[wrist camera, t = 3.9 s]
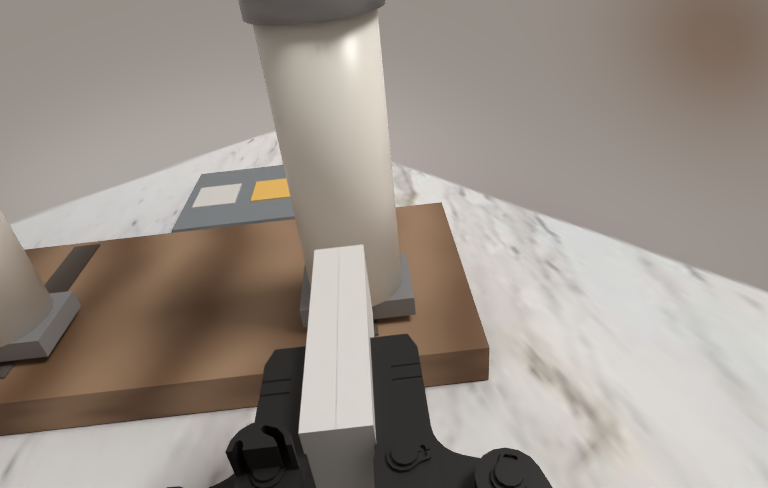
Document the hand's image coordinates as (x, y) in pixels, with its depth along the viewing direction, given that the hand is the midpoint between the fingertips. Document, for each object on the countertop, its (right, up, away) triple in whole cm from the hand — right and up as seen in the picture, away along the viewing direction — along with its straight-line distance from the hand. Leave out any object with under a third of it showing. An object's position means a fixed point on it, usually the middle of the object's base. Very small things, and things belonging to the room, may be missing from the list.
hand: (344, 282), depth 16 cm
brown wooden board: (-8, -3, +12) cm, 15 cm away
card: (-9, +5, +24) cm, 26 cm away
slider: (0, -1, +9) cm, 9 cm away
